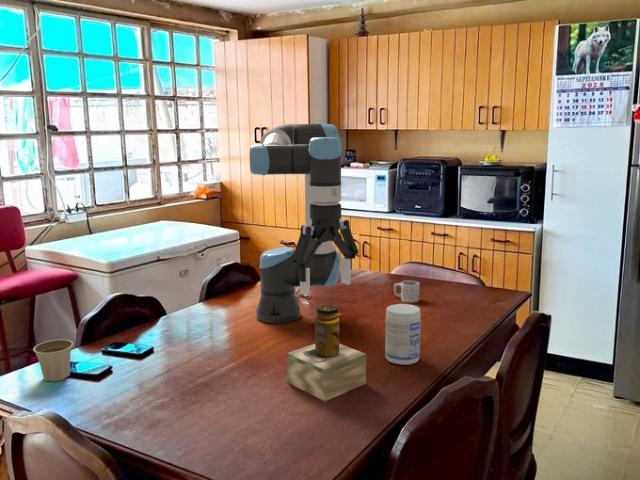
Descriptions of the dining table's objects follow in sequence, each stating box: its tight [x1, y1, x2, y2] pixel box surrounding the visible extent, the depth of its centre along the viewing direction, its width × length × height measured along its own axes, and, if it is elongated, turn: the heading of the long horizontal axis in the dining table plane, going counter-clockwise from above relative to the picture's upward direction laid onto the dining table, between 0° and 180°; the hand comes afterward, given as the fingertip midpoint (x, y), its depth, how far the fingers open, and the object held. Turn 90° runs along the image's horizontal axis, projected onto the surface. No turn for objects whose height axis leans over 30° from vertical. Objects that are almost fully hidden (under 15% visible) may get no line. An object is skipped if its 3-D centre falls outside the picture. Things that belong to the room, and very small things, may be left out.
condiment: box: [303, 304, 346, 362], centre depth 146 cm, size 7×8×12 cm
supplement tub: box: [384, 303, 422, 366], centre depth 163 cm, size 10×10×15 cm
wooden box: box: [286, 343, 368, 402], centre depth 149 cm, size 14×14×8 cm
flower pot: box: [32, 339, 74, 383], centre depth 154 cm, size 9×9×9 cm
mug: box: [393, 280, 421, 304], centre depth 220 cm, size 10×7×7 cm
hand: (325, 288), depth 145 cm, fingers open, 13 cm apart
